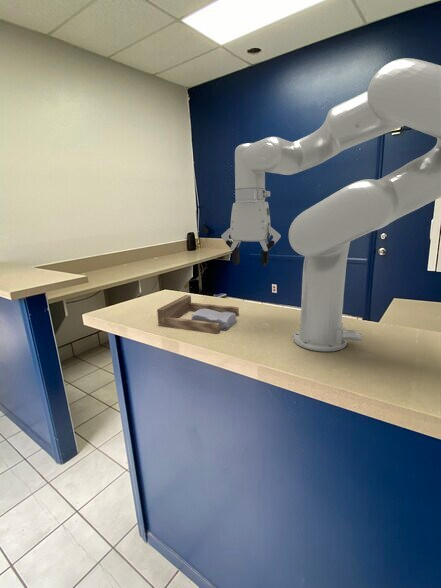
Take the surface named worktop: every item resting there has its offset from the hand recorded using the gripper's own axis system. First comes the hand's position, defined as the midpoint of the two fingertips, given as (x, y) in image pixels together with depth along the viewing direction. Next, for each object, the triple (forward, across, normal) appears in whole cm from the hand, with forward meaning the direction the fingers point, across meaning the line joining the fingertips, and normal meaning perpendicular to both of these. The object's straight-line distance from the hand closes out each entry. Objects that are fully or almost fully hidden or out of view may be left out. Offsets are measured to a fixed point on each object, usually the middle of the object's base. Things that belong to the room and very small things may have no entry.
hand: (250, 264), depth 84 cm
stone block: (+18, +11, +1) cm, 21 cm away
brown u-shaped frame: (+18, +15, 0) cm, 23 cm away
